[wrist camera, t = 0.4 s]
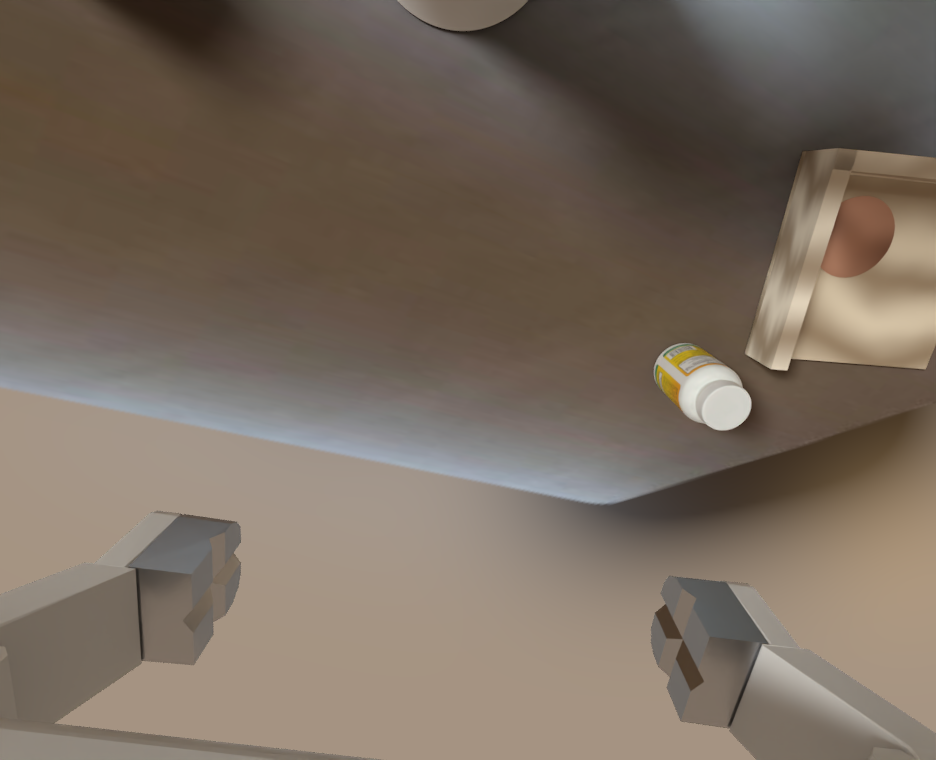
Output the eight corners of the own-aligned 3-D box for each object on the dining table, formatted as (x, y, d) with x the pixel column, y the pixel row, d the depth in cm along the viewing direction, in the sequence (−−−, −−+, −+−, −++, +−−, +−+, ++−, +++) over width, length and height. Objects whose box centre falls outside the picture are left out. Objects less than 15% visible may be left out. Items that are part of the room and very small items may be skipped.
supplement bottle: (672, 332, 50) (720, 365, 41) (717, 356, 51) (775, 393, 42) (641, 380, 51) (681, 422, 42) (685, 402, 52) (734, 447, 43)
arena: (802, 151, 44) (839, 148, 40) (1002, 171, 45) (1058, 170, 41) (744, 353, 50) (770, 369, 46) (921, 367, 51) (962, 383, 47)
